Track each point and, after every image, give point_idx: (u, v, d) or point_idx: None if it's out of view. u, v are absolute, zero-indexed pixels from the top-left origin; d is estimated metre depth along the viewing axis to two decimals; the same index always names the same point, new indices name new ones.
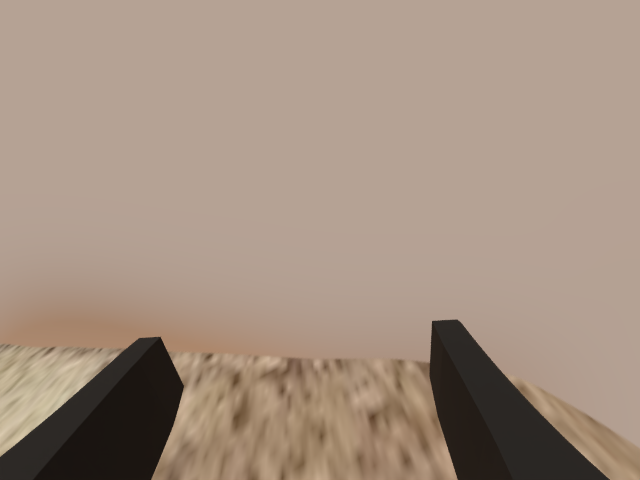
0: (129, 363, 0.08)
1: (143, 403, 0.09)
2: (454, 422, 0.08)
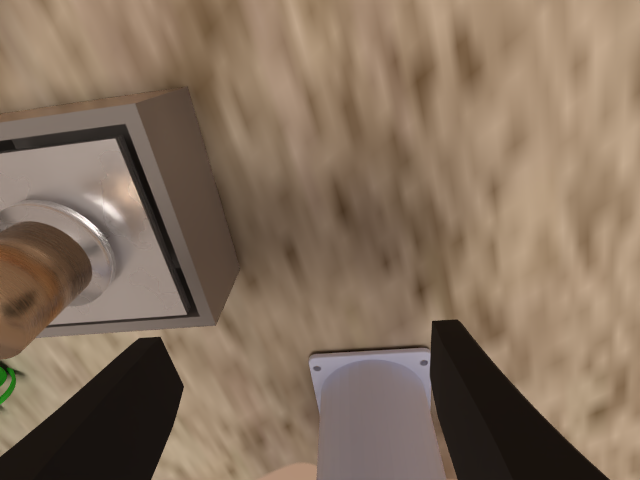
0: (129, 363, 0.08)
1: (143, 403, 0.09)
2: (454, 422, 0.08)
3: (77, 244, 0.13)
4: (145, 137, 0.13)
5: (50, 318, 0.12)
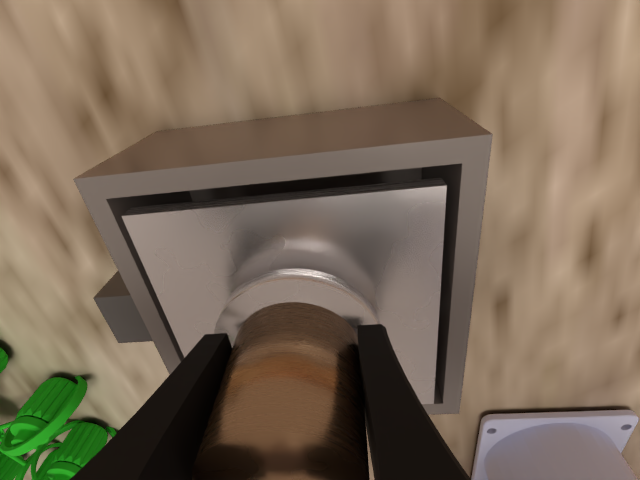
0: (204, 359, 0.08)
1: None
2: (368, 425, 0.08)
3: (354, 332, 0.09)
4: (480, 182, 0.09)
5: None
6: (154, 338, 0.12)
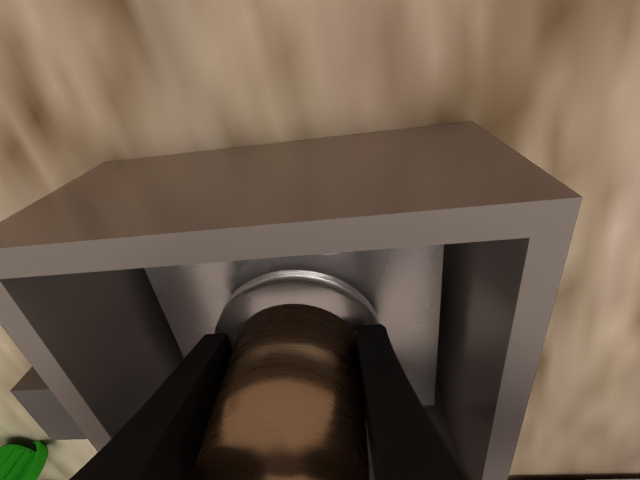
0: (204, 359, 0.08)
1: None
2: (368, 425, 0.08)
3: (355, 334, 0.09)
4: (554, 263, 0.06)
5: None
6: (93, 442, 0.09)
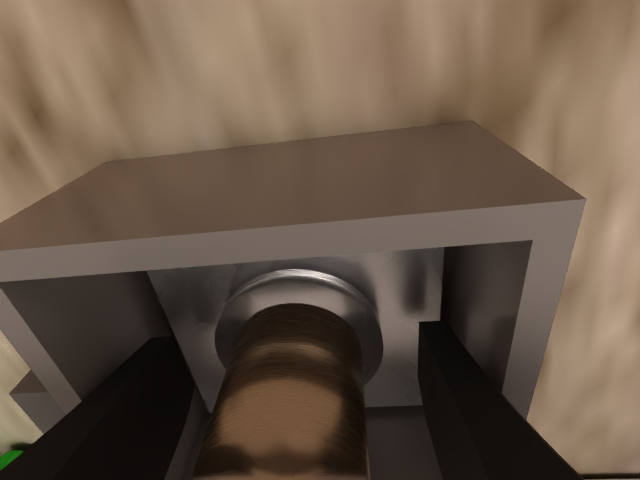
0: (143, 362, 0.08)
1: (156, 402, 0.09)
2: (439, 422, 0.08)
3: (355, 333, 0.09)
4: (558, 265, 0.06)
5: None
6: None
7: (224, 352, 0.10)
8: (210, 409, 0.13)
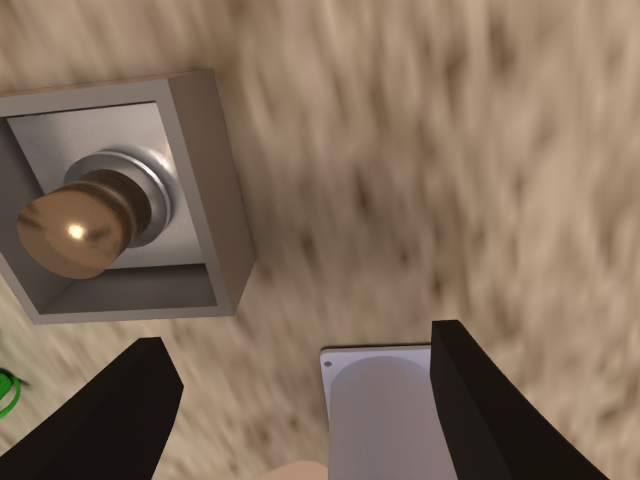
0: (129, 363, 0.08)
1: (143, 403, 0.09)
2: (454, 422, 0.08)
3: (142, 190, 0.16)
4: (175, 115, 0.12)
5: (124, 248, 0.15)
6: None
7: None
8: None
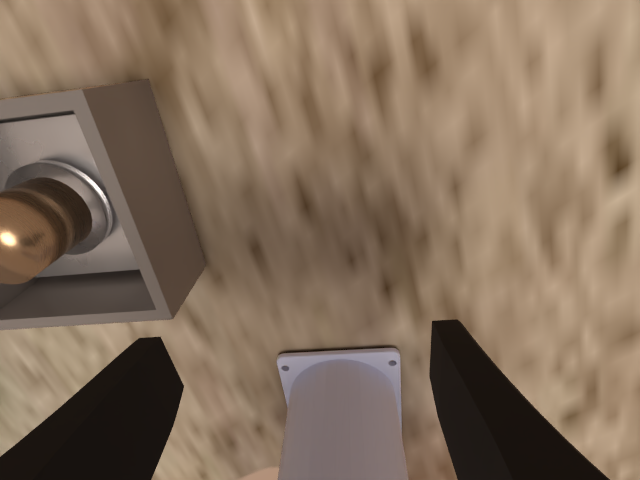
0: (129, 363, 0.08)
1: (143, 403, 0.09)
2: (454, 422, 0.08)
3: (80, 197, 0.16)
4: (94, 124, 0.13)
5: (57, 253, 0.15)
6: None
7: None
8: None
